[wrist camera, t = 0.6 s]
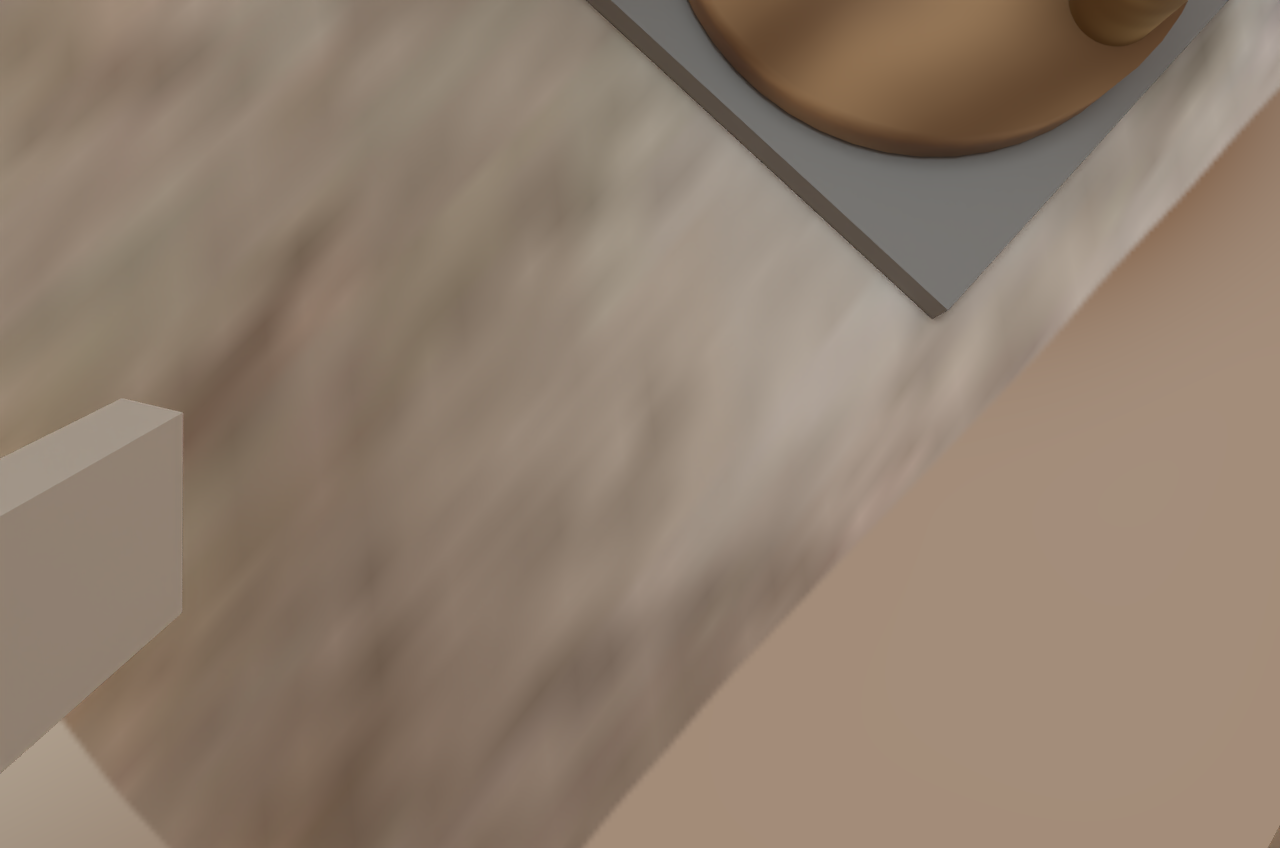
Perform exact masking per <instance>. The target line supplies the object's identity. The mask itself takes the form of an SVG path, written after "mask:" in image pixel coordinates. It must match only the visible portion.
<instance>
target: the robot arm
mask: <svg viewBox="0 0 1280 848" xmlns="http://www.w3.org/2000/svg"><path fill="white" fill-rule="evenodd" d="M182 539H183V412H179V411H175V410H170V409H166V408H162V407H158V406H154V405H149V404H145V403H141V402H137V401H132V400H128V399H124V398H121V399H119V400H117V401H115V402H113V403H111V404H109V405H107V406H105V407H103V408H101V409H99V410H97V411H95V412H93V413H91V414H89V415H87V416H85V417H83V418H81V419H79V420H77V421H75V422H73V423H71V424H69V425H66V426H64V427H62V428H60V429H58V430H56V431H54V432H52V433H50V434H48V435H46V436H44V437H42V438H40V439H38V440H36V441H34V442H32V443H30V444H28V445H26V446H24V447H22V448H20V449H18V450H16V451H14V452H12V453H10V454H8V455H6V456H4V457H2V458H0V773H2V772H3V771H4V770H5V769H6V768H7V767H8V766H9V765H11V764H12V763H13V762H14V761H15V760H16V759H17V758H18V757H20V756H21V755H22V754H23V753H24V752H25V751H26V750H27V749H29V748H30V747H31V746H32V745H33V744H34V743H35V742H37V741H38V740H39V739H40V738H41V737H42V736H43V735H44V734H46V733H47V732H48V731H49V730H50V729H51V728H52V727H53V726H55V725H56V724H57V723H58V722H59V721H60V720H61V719H63V718H64V717H65V716H66V715H67V714H68V713H69V712H71V711H72V710H73V709H74V708H75V707H76V706H77V705H78V704H80V703H81V702H82V701H83V700H84V699H85V698H86V697H87V696H89V695H90V694H91V693H92V692H93V691H94V690H95V689H96V688H98V687H99V686H100V685H101V684H102V683H103V682H104V681H106V680H107V679H108V678H109V677H110V676H111V675H112V674H113V673H115V672H116V671H117V670H118V669H119V668H120V667H121V666H122V665H124V664H125V663H126V662H127V661H128V660H129V659H130V658H132V657H133V656H134V655H135V654H136V653H137V652H138V651H139V650H141V649H142V648H143V647H144V646H145V645H146V644H147V643H148V642H150V641H151V640H152V639H153V638H154V637H155V636H156V635H157V634H159V633H160V632H161V631H162V630H163V629H164V628H165V627H167V626H168V625H169V624H170V623H171V622H172V621H173V620H174V619H176V618H177V617H178V616H179V615H180V614H181V613H182ZM1268 848H1280V826H1279V828H1278V830H1277V832H1276V834H1275V835H1274V837H1273V839H1272V841H1271V843H1270V845H1269V846H1268Z"/></svg>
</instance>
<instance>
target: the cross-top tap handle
mask: <svg viewBox="0 0 1280 848" xmlns="http://www.w3.org/2000/svg"><path fill="white" fill-rule="evenodd" d="M689 2H690V5H691V7H692V9H693V11H694V13H695V15H696V16H697V18H698V19H699V21H700V23H701V24H702V26H703V27H704V29H705V31H706V32H707V34H708V35H709V37H710V39H711V40H712V42H713V43H714V44H715V45H716V47H717V48H718V49H719V50H720V52H721V53H722V54H723V55H724V56H725V58H726V59H727V60H728V61H729V62H730V64H731V65H732V66H733V67H734V69H735V70H736V71H738V72H739V73H740V74H741V75H742V76H743V77H744V78H745V79H746V80H747V81H748V82H749V83H750V84H751V85H752V86H753V87H755V88H756V89H757V90H758V91H759V92H760V93H761V94H762V95H764V96H765V97H767V98H768V99H769V100H771V101H772V102H773V103H775V104H776V105H778V106H779V107H780V108H782V109H783V110H784V111H786V112H787V113H789V114H790V115H792V116H794V117H796V118H798V119H799V120H801V121H803V122H805V123H807V124H808V125H810V126H812V127H814V128H816V129H817V130H819V131H822V132H824V133H827V134H829V135H832V136H834V137H837V138H839V139H842V140H844V141H847V142H849V143H852V144H856V145H859V146H863V147H867V148H871V149H875V150H879V151H883V152H887V153H895V154H903V155H911V156H920V157H949V156H962V155H970V154H977V153H984V152H990V151H994V150H997V149H1001V148H1005V147H1008V146H1012V145H1016V144H1019V143H1022V142H1025V141H1027V140H1029V139H1032V138H1034V137H1036V136H1039V135H1041V134H1043V133H1046V132H1048V131H1050V130H1053V129H1054V128H1056V127H1058V126H1059V125H1061V124H1063V123H1064V122H1066V121H1068V120H1069V119H1071V118H1073V117H1074V116H1076V115H1078V114H1079V113H1081V112H1082V111H1083V110H1085V109H1086V108H1087V107H1088V106H1090V105H1091V104H1092V103H1093V102H1095V101H1096V100H1097V99H1099V98H1100V97H1101V96H1102V95H1104V94H1105V93H1106V92H1107V91H1109V90H1110V89H1111V88H1112V87H1114V86H1115V85H1116V84H1117V83H1119V82H1120V81H1121V80H1122V79H1124V78H1125V77H1126V76H1127V75H1128V74H1130V73H1131V72H1132V71H1133V70H1135V69H1136V68H1137V67H1138V66H1139V65H1140V64H1141V63H1142V62H1143V61H1144V60H1145V59H1146V58H1147V57H1148V56H1149V55H1150V54H1151V53H1152V51H1153V50H1154V49H1155V48H1156V47H1157V46H1158V45H1159V44H1160V43H1161V42H1162V41H1163V39H1164V38H1165V36H1166V35H1167V34H1168V32H1169V31H1170V29H1171V28H1172V26H1173V25H1174V24H1175V22H1176V21H1177V19H1178V18H1179V16H1180V15H1181V14H1182V12H1183V10H1184V8H1185V6H1186V4H1187V2H1188V0H689Z"/></svg>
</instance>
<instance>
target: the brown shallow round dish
mask: <svg viewBox="0 0 1280 848" xmlns="http://www.w3.org/2000/svg"><path fill="white" fill-rule="evenodd" d="M587 1H588V2H589V3H590V4H591V5H592V6H593V7H594V8H595V9H597V10H598V11H599V12H600V13H601V14H602V15H603V16H604V17H605V18H606V19H607V20H609V21H610V22H611V23H612V24H613V25H614V26H615V27H616V28H617V29H618V30H619V31H620V32H622V33H623V34H624V35H625V36H626V37H627V38H628V39H629V40H630V41H631V42H632V43H633V44H635V45H636V46H637V47H638V48H639V49H640V50H641V51H642V52H643V53H644V54H645V55H647V56H648V57H649V58H650V59H651V60H652V61H653V62H654V63H655V64H656V65H657V66H658V67H660V68H661V69H662V70H663V71H664V72H665V73H666V74H667V75H668V76H669V77H670V78H672V79H673V80H674V81H675V82H676V83H677V84H678V85H679V86H680V87H681V88H682V89H683V90H685V91H686V92H687V93H688V94H689V95H690V96H691V97H692V98H693V99H694V100H695V101H696V102H698V103H699V104H700V105H701V106H702V107H703V108H704V109H705V110H706V111H707V112H708V113H710V114H711V115H712V116H713V117H714V118H715V119H716V120H717V121H718V122H719V123H720V124H721V125H723V126H724V127H725V128H726V129H727V130H728V131H729V132H730V133H731V134H732V135H733V136H735V137H736V138H737V139H738V140H739V141H740V142H741V143H742V144H743V145H744V146H745V147H746V148H748V149H749V150H750V151H751V152H752V153H753V154H754V155H755V156H756V157H757V158H758V159H760V160H761V161H762V162H763V163H764V164H765V165H766V166H767V167H768V168H769V169H770V170H771V171H773V172H774V173H775V174H776V175H777V176H778V177H779V178H780V179H781V180H782V181H783V182H784V183H786V184H787V185H788V186H789V187H790V188H791V189H792V190H793V191H794V192H795V193H796V194H798V195H799V196H800V197H801V198H802V199H803V200H804V201H805V202H806V203H807V204H808V205H809V206H811V207H812V208H813V209H814V210H815V211H816V212H817V213H818V214H819V215H820V216H821V217H823V218H824V219H825V220H826V221H827V222H828V223H829V224H830V225H831V226H832V227H833V228H834V229H836V230H837V231H838V232H839V233H840V234H841V235H842V236H843V237H844V238H845V239H846V240H848V241H849V242H850V243H851V244H852V245H853V246H854V247H855V248H856V249H857V250H858V251H859V252H861V253H862V254H863V255H864V256H865V257H866V258H867V259H868V260H869V261H870V262H871V263H872V264H874V265H875V266H876V267H877V268H878V269H879V270H880V271H881V272H882V273H883V274H884V275H886V276H887V277H888V278H889V279H890V280H891V281H892V282H893V283H894V284H895V285H896V286H897V287H899V288H900V289H901V290H902V291H903V292H904V293H905V294H906V295H907V296H908V297H909V298H911V299H912V300H913V301H914V302H915V303H916V304H917V305H918V306H919V307H920V308H921V309H922V310H924V311H925V312H926V313H927V314H928V315H929V316H930V317H931V318H932V319H933V318H934V317H936V316H938V315H940V314H942V313H944V312H946V311H947V310H949V309H950V307H951V306H952V305H953V304H954V303H955V302H956V301H957V300H958V299H959V297H960V296H961V295H962V294H963V293H964V292H965V291H966V290H967V289H968V288H969V286H970V285H971V284H972V283H973V282H974V281H975V280H976V279H977V278H978V276H979V275H980V274H981V273H982V272H983V271H984V270H985V269H986V268H987V267H988V265H989V264H990V263H991V262H992V261H993V260H994V259H995V258H996V257H997V255H998V254H999V253H1000V252H1001V251H1002V250H1003V249H1004V248H1005V247H1006V246H1007V244H1008V243H1009V242H1010V241H1011V240H1012V239H1013V238H1014V237H1015V236H1016V234H1017V233H1018V232H1019V231H1020V230H1021V229H1022V228H1023V227H1024V226H1025V225H1026V223H1027V222H1028V221H1029V220H1030V219H1031V218H1032V217H1033V216H1034V215H1035V213H1036V212H1037V211H1038V210H1039V209H1040V208H1041V207H1042V206H1043V205H1044V204H1045V202H1046V201H1047V200H1048V199H1049V198H1050V197H1051V196H1052V195H1053V194H1054V192H1055V191H1056V190H1057V189H1058V188H1059V187H1060V186H1061V185H1062V184H1063V183H1064V181H1065V180H1066V179H1067V178H1068V177H1069V176H1070V175H1071V174H1072V173H1073V171H1074V170H1075V169H1076V168H1077V167H1078V166H1079V165H1080V164H1081V163H1082V162H1083V160H1084V159H1085V158H1086V157H1087V156H1088V155H1089V154H1090V153H1091V152H1092V151H1093V149H1094V148H1095V147H1096V146H1097V145H1098V144H1099V143H1100V142H1101V141H1102V139H1103V138H1104V137H1105V136H1106V135H1107V134H1108V133H1109V132H1110V131H1111V130H1112V128H1113V127H1114V126H1115V125H1116V124H1117V123H1118V122H1119V121H1120V120H1121V118H1122V117H1123V116H1124V115H1125V114H1126V113H1127V112H1128V111H1129V110H1130V109H1131V107H1132V106H1133V105H1134V104H1135V103H1136V102H1137V101H1138V100H1139V99H1140V97H1141V96H1142V95H1143V94H1144V93H1145V92H1146V91H1147V90H1148V89H1149V88H1150V86H1151V85H1152V84H1153V83H1154V82H1155V81H1156V80H1157V79H1158V78H1159V76H1160V75H1161V74H1162V73H1163V72H1164V71H1165V70H1166V69H1167V68H1168V67H1169V65H1170V64H1171V63H1172V62H1173V61H1174V60H1175V59H1176V58H1177V57H1178V55H1179V54H1180V53H1181V52H1182V51H1183V50H1184V49H1185V48H1186V47H1187V46H1188V44H1189V43H1190V42H1191V41H1192V40H1193V39H1194V38H1195V37H1196V36H1197V34H1198V33H1199V32H1200V31H1201V30H1202V29H1203V28H1204V27H1205V26H1206V25H1207V23H1208V22H1209V21H1210V20H1211V19H1212V18H1213V17H1214V16H1215V15H1216V13H1217V12H1218V11H1219V10H1220V9H1221V8H1222V7H1223V6H1224V5H1225V4H1226V2H1227V1H1228V0H1188V2H1187V4H1186V6H1185V8H1184V10H1183V12H1182V14H1181V15H1180V16H1179V18H1178V19H1177V21H1176V22H1175V24H1174V25H1173V26H1172V28H1171V29H1170V31H1169V32H1168V34H1167V35H1166V36H1165V38H1164V39H1163V41H1162V42H1161V43H1160V44H1159V45H1158V46H1157V47H1156V48H1155V49H1154V50H1153V51H1152V53H1151V54H1150V55H1149V56H1148V57H1147V58H1146V59H1145V60H1144V61H1143V62H1142V63H1141V64H1140V65H1139V66H1138V67H1137V68H1136V69H1135V70H1133V71H1132V72H1131V73H1130V74H1128V75H1127V76H1126V77H1125V78H1124V79H1122V80H1121V81H1120V82H1119V83H1117V84H1116V85H1115V86H1114V87H1112V88H1111V89H1110V90H1109V91H1107V92H1106V93H1105V94H1104V95H1102V96H1101V97H1100V98H1099V99H1097V100H1096V101H1095V102H1093V103H1092V104H1091V105H1090V106H1088V107H1087V108H1086V109H1085V110H1083V111H1082V112H1081V113H1079V114H1078V115H1076V116H1074V117H1073V118H1071V119H1069V120H1068V121H1066V122H1064V123H1063V124H1061V125H1059V126H1058V127H1056V128H1054V129H1053V130H1050V131H1048V132H1046V133H1043V134H1041V135H1039V136H1036V137H1034V138H1032V139H1029V140H1027V141H1025V142H1022V143H1019V144H1016V145H1012V146H1008V147H1005V148H1001V149H997V150H994V151H990V152H984V153H977V154H970V155H962V156H949V157H920V156H911V155H903V154H895V153H887V152H883V151H879V150H875V149H871V148H867V147H863V146H859V145H856V144H852V143H849V142H847V141H844V140H842V139H839V138H837V137H834V136H832V135H829V134H827V133H824V132H822V131H819V130H817V129H816V128H814V127H812V126H810V125H808V124H807V123H805V122H803V121H801V120H799V119H798V118H796V117H794V116H792V115H790V114H789V113H787V112H786V111H784V110H783V109H782V108H780V107H779V106H778V105H776V104H775V103H773V102H772V101H771V100H769V99H768V98H767V97H765V96H764V95H762V94H761V93H760V92H759V91H758V90H757V89H756V88H755V87H753V86H752V85H751V84H750V83H749V82H748V81H747V80H746V79H745V78H744V77H743V76H742V75H741V74H740V73H739V72H738V71H736V70H735V69H734V67H733V66H732V65H731V64H730V62H729V61H728V60H727V59H726V58H725V56H724V55H723V54H722V53H721V52H720V50H719V49H718V48H717V47H716V45H715V44H714V43H713V42H712V40H711V39H710V37H709V35H708V34H707V32H706V31H705V29H704V27H703V26H702V24H701V23H700V21H699V19H698V18H697V16H696V15H695V13H694V11H693V9H692V7H691V5H690V2H689V0H587Z"/></svg>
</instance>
